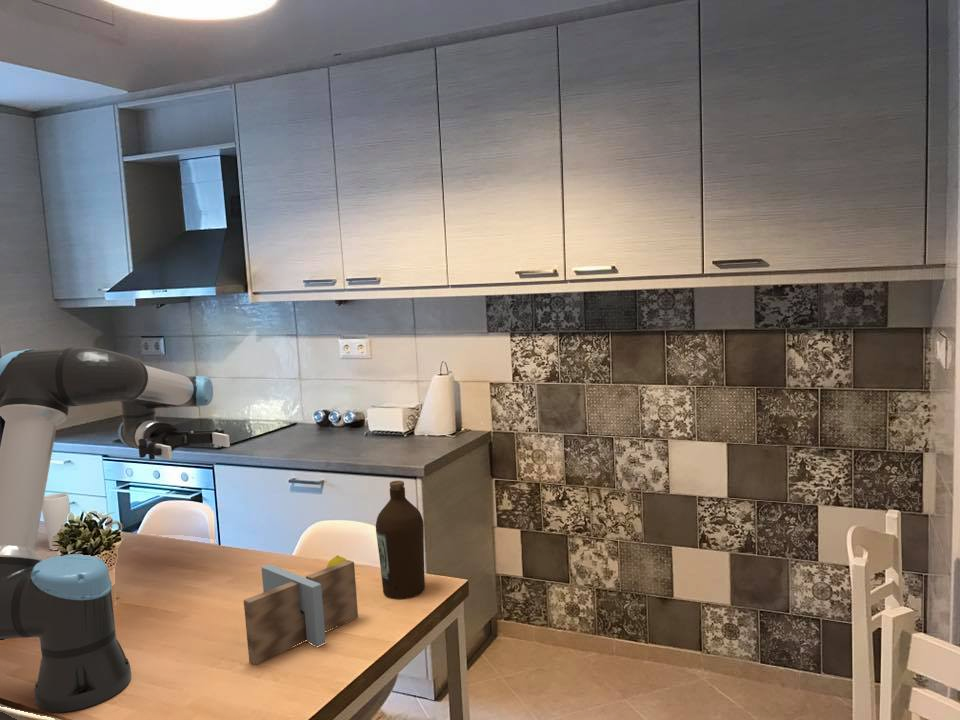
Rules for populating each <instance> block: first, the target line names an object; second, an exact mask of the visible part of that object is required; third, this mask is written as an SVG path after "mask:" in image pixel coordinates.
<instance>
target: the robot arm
mask: <svg viewBox="0 0 960 720" xmlns="http://www.w3.org/2000/svg"><path fill="white" fill-rule="evenodd" d="M213 398H214V385H213V382H212V380H211V379H210V377H208V376H205V375H195V376H187V375H183V374H179V373H175V372H171V371H168V370H163V369H161V368H157V367H154V366H149V365H146V364H144V363H143V361H142V360H140V359H139V358H137V357H135V356H132V355H131V356H130V355H127V354H124V353H120V352H116V351H113V350H108V349H102V348H99V347H98V348H97V347H91V346H90V347H89V346H76V347H61V348H60V347H59V348H41V349H36V348H27V349H23V350H18V351H17V350H15V351H11V352H9V353H7V354H5V355H3V356H2V357H0V417H1V418H2V419H3V420H4V422H5V423H4V427H3V432H2V437H1V440H0V441H1V442H0V640H5V639H24V638H25V639H26V638H39V644H40V651H41V658H40V659H41V660H40V666H39V670H38V676H37V681H36V683H35V686H34V689H33V690H34V691H33V695H34V702H35V705H36V707H37V708H38V709H39V710H41V711H44V712H48V713H49V712H50V713H67V712H72V711H74V712H75V711H77V710H83V709H86V708H88V707H92V706H95V705H98V704H100V703H103V702H105V701H107V700H109V699H110V698H112V697H114V696H116V695H118V694H119V693H120V692H122V691H123V690H124V689H125V688H126V687H127V686H128V685H129V683H130V682H131V680H132V671H131V664H130V661H129V659H128V658H127V657H126V654H125V653H124V652H125V651H124V650H123V648H122V646H121V644H120V642H119V640H118V638H117V633H116V623H115V613H114V605H113V604H114V603H113V601H114V600H113V593H112V587H113V585H112V584H113V583H112V580H111V577H110V571H109V568H108V565H107V563H106V562H105V561H104V560H103V559H102V558H100V557H95V556H91V555H83V554H80V553H72V554H64V555H62V556H61V555H60V556H59V555H56V556H52V557H48V558H45V559H43V560H42V558H41V557H40V556H39V555H38V554H37V552H36V550H35V549H36V544H37V538H38V533H39V528H40V521H41V516H42V506H43V500H44V497H45V492H46V488H47V482H48V479H49V478H48V477H49V476H48V475H49V472H50V471H49V470H50V466H51V461H52V455H53V449H54V444H55V437H56V432H57V427H59V426H60V425H61V424H63V423H64V422H66V421H67V419H68V415H69V409H70V407H83V406H92V405H97V404H98V405H99V404H105V403H115V402H121V403H120V405H121V412H122V413H121V414H122V422H121V423H120V425H119V427H118V431H117V435H118V438H119V440H120V441H121V443H123V444H124V445H125V446H128V447H129V448H131V449H136V450H138V455H139V458H140V459H141V458H143V459H144V458H145V457H147V455H148V460H150V461H151V460H155V459H156V457H158V458H161V459H164V460H165V459H166V460H172V459H173V453H172V452H173V451H175V449H177V448H180V447H189V446H192V445H197V444H198V445H199V444H201V445H202V444H212V445H216V446H220V447H224V448H229V447H230V446H231V444H230V443H231V442H230V435H229V434H225V430H224V429H220V430H219V428H215V429H210V430H209V429H204V430H203V429H201V430H199V429H190V430H184V431H181V430H178V429H177V427H175V426H174V425H173V424H171V423H167V422H162V421H157V420H156V409H170V408H191V407H196V408H198V407H204V406H206V407H207V406H209V405H210V404H211V403H212V401H213Z"/></svg>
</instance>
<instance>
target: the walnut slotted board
mask: <svg viewBox="0 0 960 720" xmlns="http://www.w3.org/2000/svg"><path fill="white" fill-rule="evenodd" d="M346 560H347V561H344V562H342V563H339V564H336V565H334V566H331V567H328V568H327V567H326V568H324V569H321V570H319V571H316V572H313V573H310V574H308V575H306V576H305V578H307V579H309V580H312V581H314V582H317V583H320V584H321V589H322V601H323V614H324V626H325V631H328V630H330V629H332V628H335V627H336V626H339V625H341V626H343V625H345V624H347V623H346V622H348V623H350V622H352V621H354V620H356V619H358V618H359V612H358V609H359V608H358V599H357V585H356V584H357V583H356V570H355V562H354V561H352V560H349V559H346ZM243 607H244V608H243V610H244V618H245V628H246V629H245V630H246V631H245V632H246V640H247V641H246V642H247V643H246V644H247V651H248V662H249V663H251V664H252V665H254V666H256V665H258V664H261V663H262V662H265V661H267V660H269V659H271V658H274V657H275V656H278V655H280V654H282V653H285V652H287V651H288V650H287V649H289V650H291V649H292V647H293V646H295V645H297V644H299V643H301V642H303V641H305V640H307V637H306V624H305V612H304V611H302V610H300V604H299V592H298V584H297V583H294V582H289V583H287V584H284V585H282V586H279V587H276V588H274V589H271V590H268V591H266V592H264V591H263V592H261V593H258V594H256V595H253V596H250V597H248V598H245V599H243ZM353 619H354V620H353ZM349 621H350V622H349ZM344 623H345V624H344ZM342 624H343V625H342ZM339 627H340V626H339ZM335 629H336V628H335ZM332 630H333V629H332ZM330 631H331V630H330ZM328 632H329V631H328ZM295 647H296V646H295ZM290 648H291V649H290ZM293 648H294V647H293ZM286 650H287V651H286ZM284 651H285V652H284ZM279 653H280V654H279Z"/></svg>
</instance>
